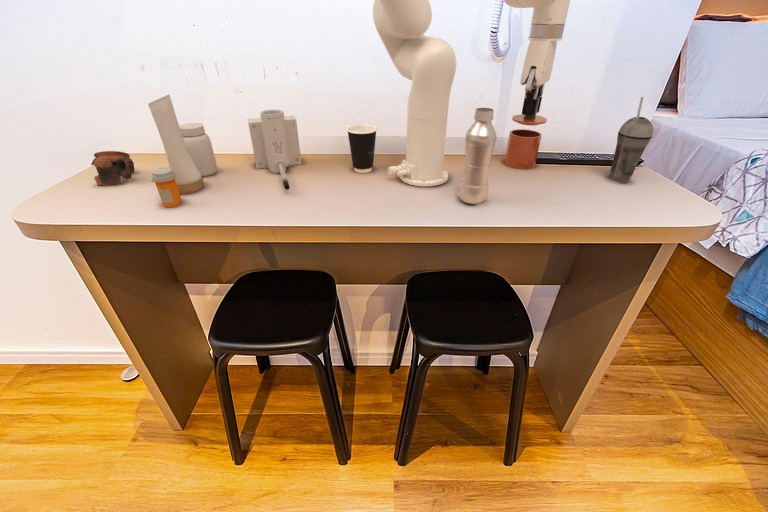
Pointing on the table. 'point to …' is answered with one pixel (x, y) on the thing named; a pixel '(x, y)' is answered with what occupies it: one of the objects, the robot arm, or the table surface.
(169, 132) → the toiletry set
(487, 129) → the metal water bottle
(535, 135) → the storage jar
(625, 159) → the beverage cup
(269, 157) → the electronic device
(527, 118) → the jar lid
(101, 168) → the pottery mug
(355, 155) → the dixie cup
